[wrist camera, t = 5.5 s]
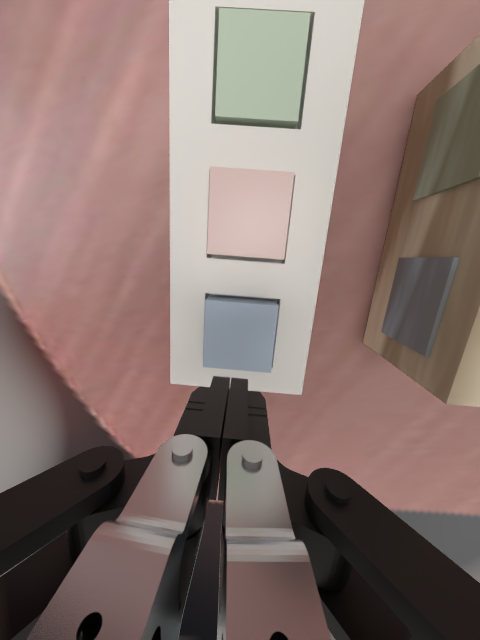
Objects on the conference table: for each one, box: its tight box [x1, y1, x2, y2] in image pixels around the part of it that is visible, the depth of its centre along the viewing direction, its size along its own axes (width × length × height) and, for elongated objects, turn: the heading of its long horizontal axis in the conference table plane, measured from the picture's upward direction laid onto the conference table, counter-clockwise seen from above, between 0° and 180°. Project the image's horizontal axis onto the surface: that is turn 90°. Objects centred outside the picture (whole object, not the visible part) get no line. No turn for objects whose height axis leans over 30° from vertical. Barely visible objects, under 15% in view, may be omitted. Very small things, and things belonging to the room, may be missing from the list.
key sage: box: [215, 8, 311, 129], centre depth 16 cm, size 6×6×3 cm
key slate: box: [203, 295, 279, 373], centre depth 20 cm, size 6×6×3 cm
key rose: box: [207, 166, 295, 260], centre depth 17 cm, size 6×6×3 cm
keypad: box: [169, 0, 364, 395], centre depth 19 cm, size 12×29×3 cm, turn 176°
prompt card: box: [363, 34, 480, 407], centre depth 15 cm, size 2×20×10 cm, turn 176°
